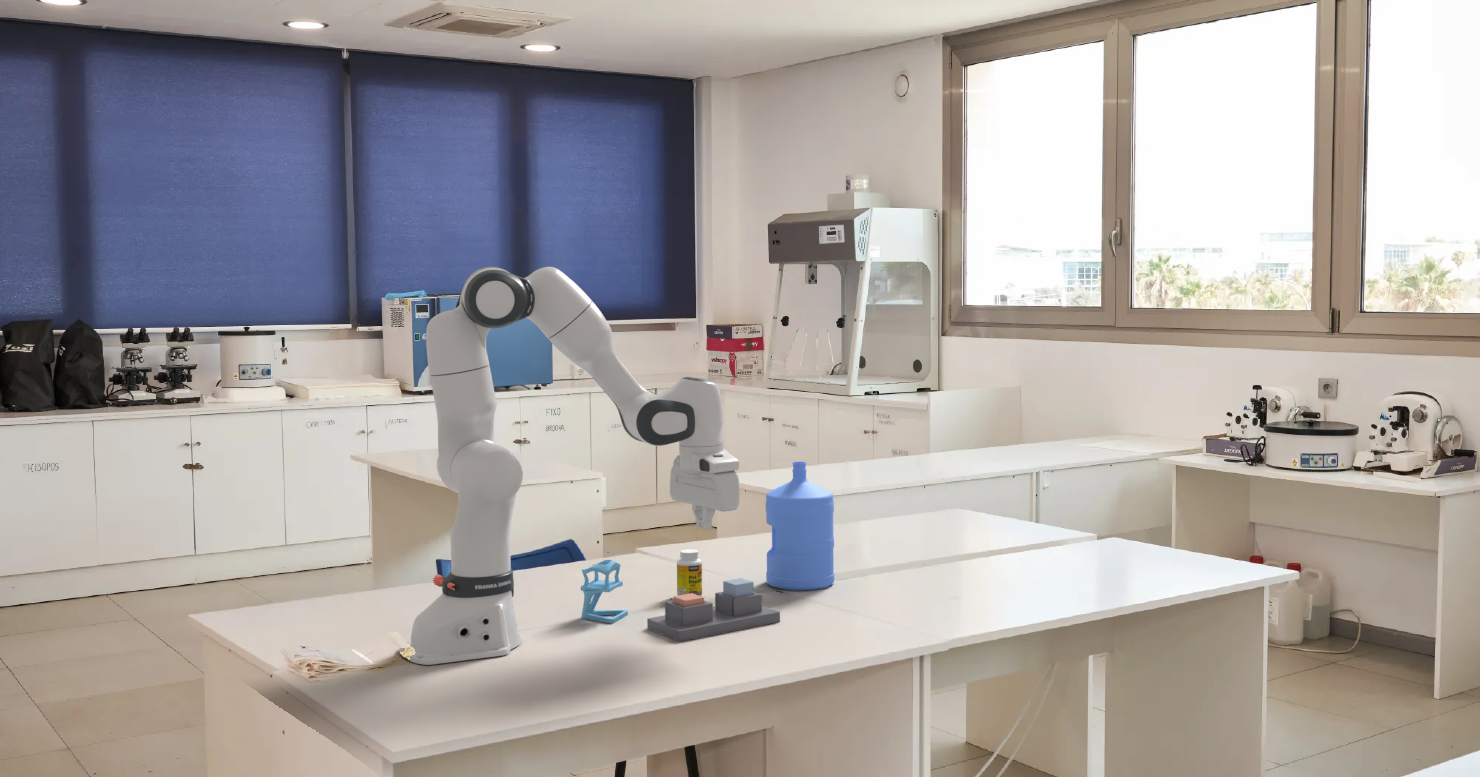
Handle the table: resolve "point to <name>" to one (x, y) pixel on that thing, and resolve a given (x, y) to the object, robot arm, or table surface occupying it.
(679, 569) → the supplement bottle
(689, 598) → the terracotta key
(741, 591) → the slate key
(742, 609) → the grey piece
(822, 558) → the water jug
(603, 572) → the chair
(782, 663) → the table surface
